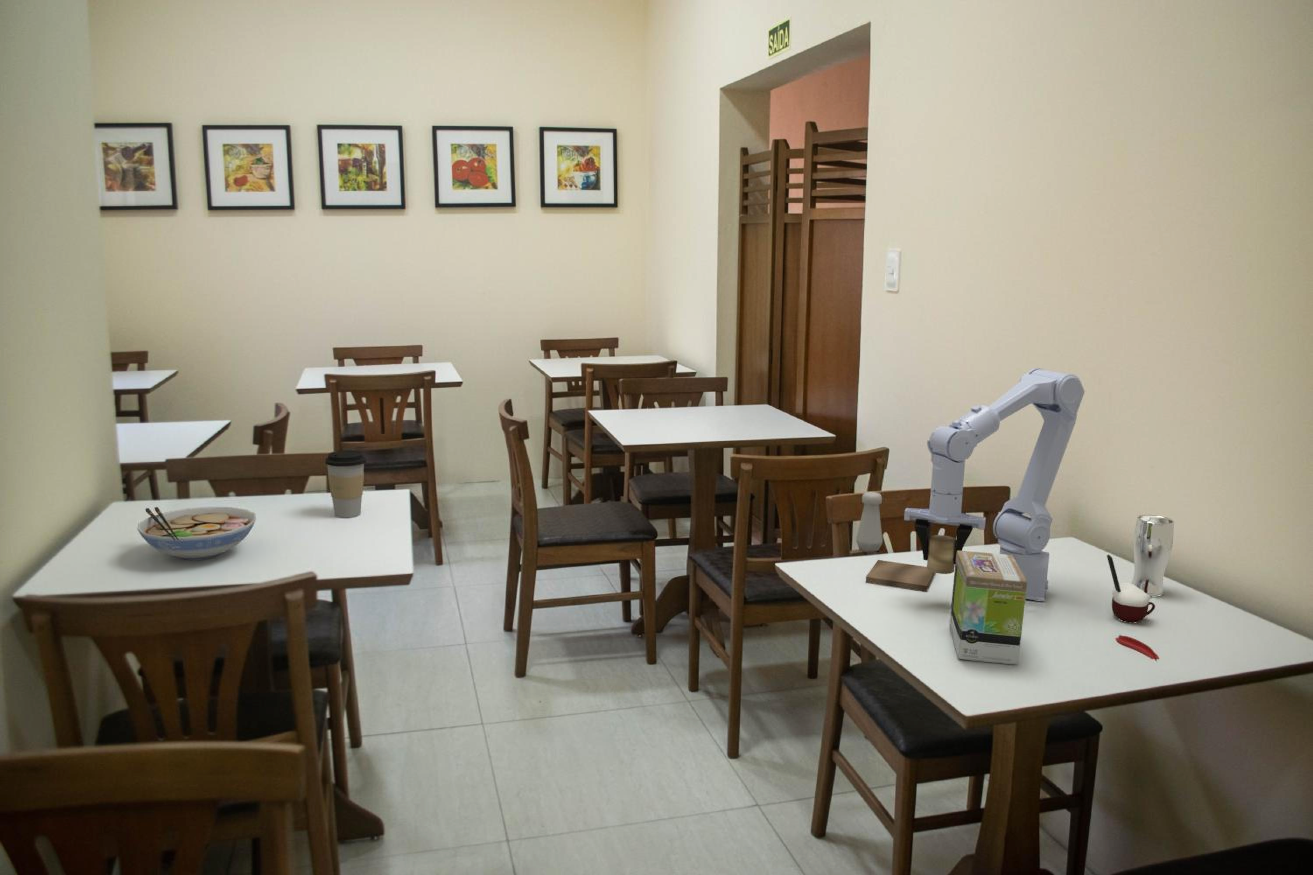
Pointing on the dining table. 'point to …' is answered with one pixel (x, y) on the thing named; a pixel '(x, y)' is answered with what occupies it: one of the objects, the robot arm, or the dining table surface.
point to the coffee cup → (346, 481)
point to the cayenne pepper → (1137, 646)
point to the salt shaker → (870, 523)
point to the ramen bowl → (196, 530)
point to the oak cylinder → (941, 554)
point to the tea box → (987, 607)
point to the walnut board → (900, 575)
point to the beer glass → (1152, 552)
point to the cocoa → (1128, 599)
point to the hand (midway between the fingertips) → (941, 560)
